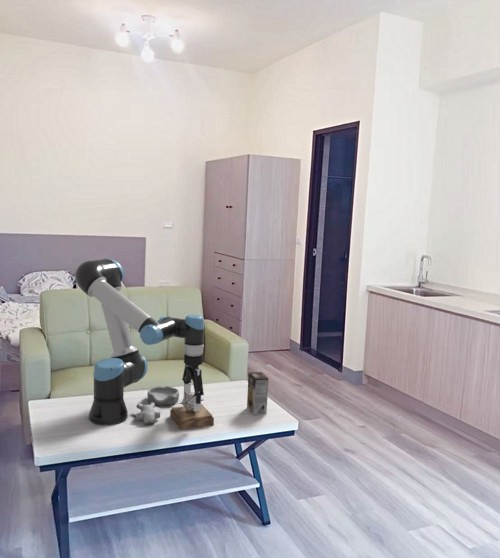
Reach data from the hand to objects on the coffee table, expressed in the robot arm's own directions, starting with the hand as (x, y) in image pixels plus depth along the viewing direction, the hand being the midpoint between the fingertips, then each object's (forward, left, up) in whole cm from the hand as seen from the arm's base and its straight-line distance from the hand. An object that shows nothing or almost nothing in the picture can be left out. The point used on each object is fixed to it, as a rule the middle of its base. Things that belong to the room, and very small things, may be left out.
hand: (191, 404), depth 218 cm
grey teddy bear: (-16, +8, -7) cm, 19 cm away
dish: (-5, +26, -7) cm, 27 cm away
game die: (0, 0, -3) cm, 3 cm away
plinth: (0, 0, -7) cm, 7 cm away
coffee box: (+30, +2, -7) cm, 31 cm away
